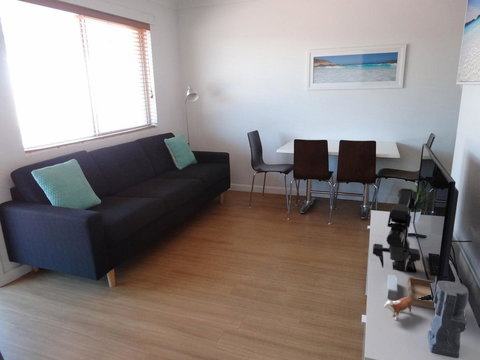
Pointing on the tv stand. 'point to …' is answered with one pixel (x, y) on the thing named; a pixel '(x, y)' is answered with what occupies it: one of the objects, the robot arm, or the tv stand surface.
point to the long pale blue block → (392, 287)
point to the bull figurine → (399, 306)
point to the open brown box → (419, 291)
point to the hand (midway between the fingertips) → (394, 269)
